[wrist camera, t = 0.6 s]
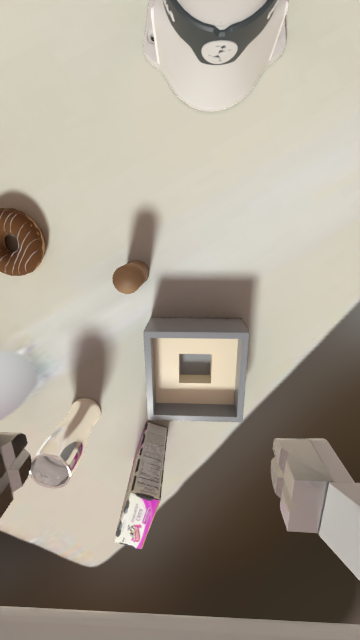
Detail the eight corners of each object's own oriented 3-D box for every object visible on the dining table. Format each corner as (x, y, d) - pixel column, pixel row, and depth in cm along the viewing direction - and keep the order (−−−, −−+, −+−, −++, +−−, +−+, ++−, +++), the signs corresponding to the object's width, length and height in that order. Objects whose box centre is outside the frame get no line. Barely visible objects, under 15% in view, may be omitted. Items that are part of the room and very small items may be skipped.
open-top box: (150, 317, 49) (143, 331, 42) (240, 318, 48) (249, 332, 41) (153, 395, 54) (147, 419, 47) (235, 396, 53) (242, 422, 46)
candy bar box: (155, 467, 59) (141, 551, 44) (133, 461, 59) (111, 543, 43) (170, 426, 56) (161, 502, 40) (146, 420, 56) (128, 493, 40)
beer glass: (91, 390, 54) (54, 447, 40) (109, 417, 56) (80, 481, 42) (62, 403, 55) (17, 462, 41) (81, 429, 57) (43, 495, 43)
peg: (125, 260, 46) (111, 265, 38) (148, 260, 46) (139, 265, 38) (126, 284, 47) (113, 293, 40) (149, 284, 47) (141, 293, 39)
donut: (61, 258, 47) (50, 260, 43) (11, 283, 48) (-4, 288, 45) (26, 197, 44) (10, 193, 40) (-25, 226, 46) (-45, 225, 42)
